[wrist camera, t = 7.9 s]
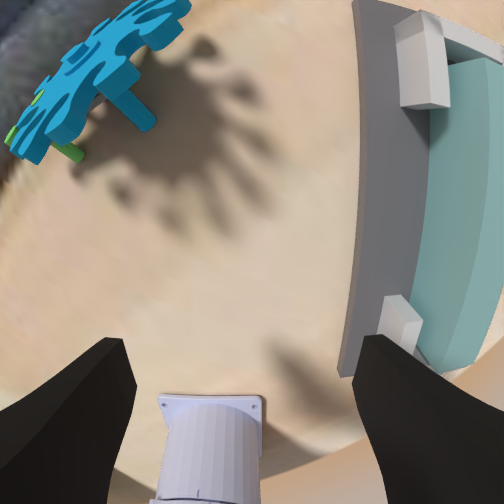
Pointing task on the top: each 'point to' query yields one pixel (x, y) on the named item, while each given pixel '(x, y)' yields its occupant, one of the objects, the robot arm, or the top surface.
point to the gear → (96, 80)
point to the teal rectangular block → (462, 218)
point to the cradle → (397, 162)
